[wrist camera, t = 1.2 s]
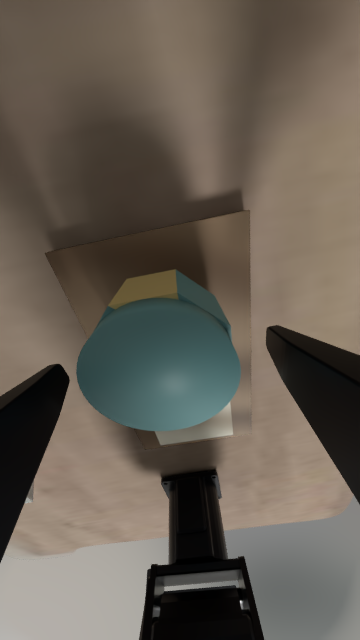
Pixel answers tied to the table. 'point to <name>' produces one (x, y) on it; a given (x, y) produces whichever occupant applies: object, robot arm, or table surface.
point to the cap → (160, 355)
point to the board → (195, 263)
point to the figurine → (30, 495)
